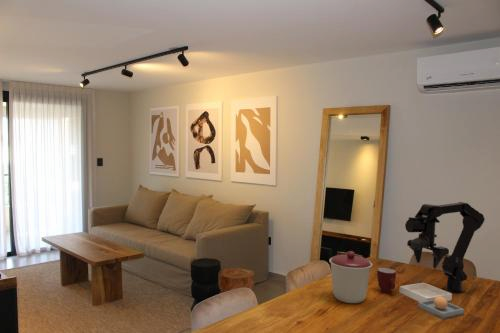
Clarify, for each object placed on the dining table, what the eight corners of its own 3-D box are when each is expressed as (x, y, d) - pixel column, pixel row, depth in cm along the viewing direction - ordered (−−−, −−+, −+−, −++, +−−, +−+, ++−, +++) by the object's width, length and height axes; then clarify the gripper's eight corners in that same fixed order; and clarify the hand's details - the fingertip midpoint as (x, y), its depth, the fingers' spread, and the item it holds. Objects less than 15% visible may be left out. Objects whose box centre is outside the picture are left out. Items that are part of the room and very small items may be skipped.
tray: (438, 303, 167) (438, 298, 167) (463, 314, 156) (464, 309, 156) (418, 307, 162) (418, 302, 162) (442, 319, 151) (443, 313, 151)
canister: (377, 299, 170) (380, 251, 169) (358, 311, 156) (360, 259, 155) (341, 288, 182) (342, 244, 181) (319, 298, 169) (321, 250, 168)
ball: (439, 306, 163) (439, 294, 163) (450, 310, 158) (450, 298, 158) (431, 307, 161) (431, 295, 161) (441, 312, 156) (441, 299, 156)
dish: (423, 288, 185) (423, 282, 185) (451, 300, 171) (451, 293, 171) (399, 292, 179) (399, 286, 179) (426, 305, 165) (427, 298, 165)
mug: (402, 296, 175) (403, 274, 174) (387, 297, 172) (388, 275, 172) (387, 288, 185) (388, 267, 184) (372, 289, 182) (373, 268, 182)
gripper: (399, 228, 184) (397, 261, 184) (432, 237, 167) (430, 273, 167) (416, 227, 188) (415, 259, 189) (450, 235, 171) (448, 270, 172)
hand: (426, 265), depth 179 cm, fingers open, 9 cm apart
